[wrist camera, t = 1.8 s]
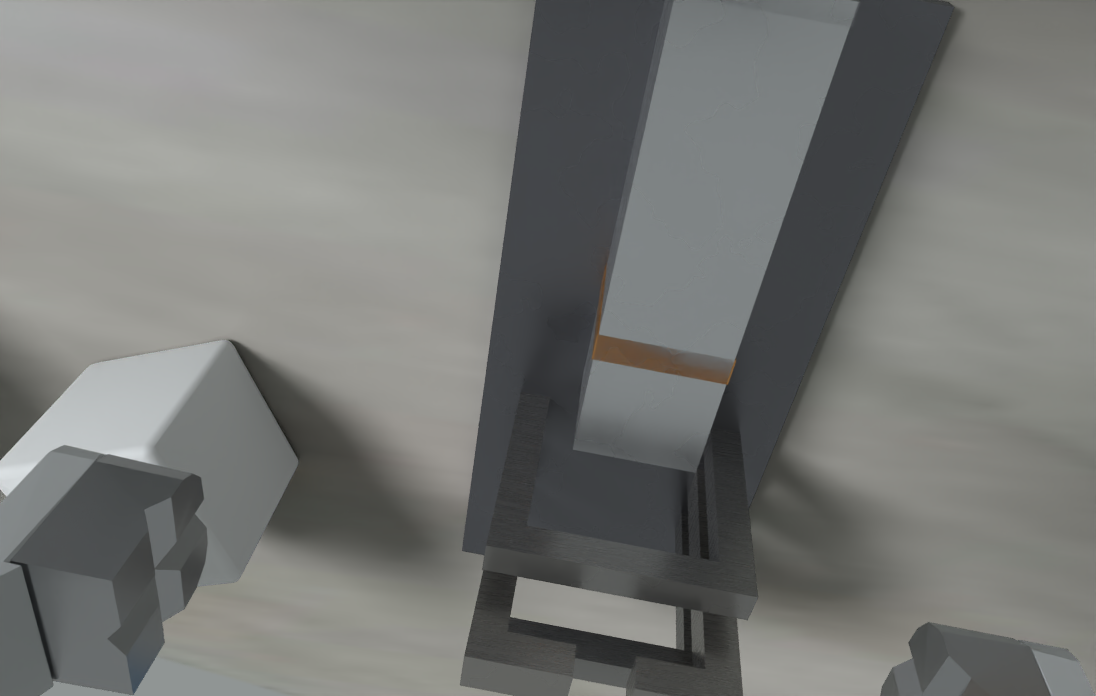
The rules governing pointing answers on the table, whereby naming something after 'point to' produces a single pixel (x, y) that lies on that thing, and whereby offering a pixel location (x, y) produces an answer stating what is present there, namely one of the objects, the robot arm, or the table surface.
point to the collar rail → (564, 337)
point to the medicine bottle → (178, 438)
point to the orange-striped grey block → (701, 216)
